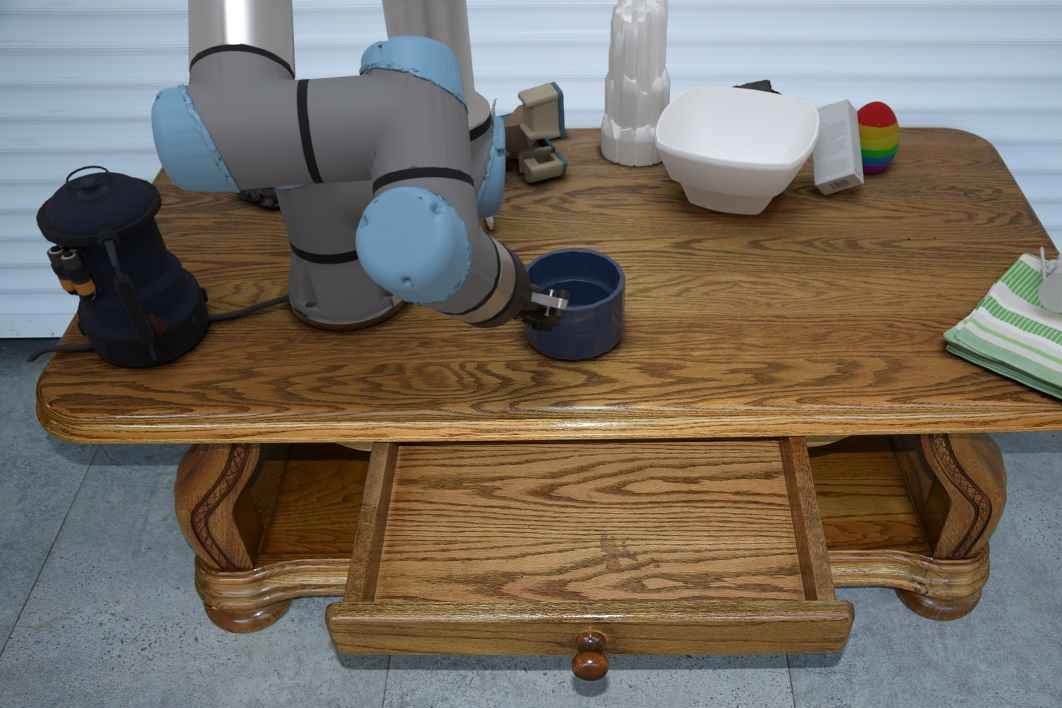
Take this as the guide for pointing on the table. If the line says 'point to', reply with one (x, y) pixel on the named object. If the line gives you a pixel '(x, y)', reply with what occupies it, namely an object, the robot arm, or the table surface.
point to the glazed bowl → (580, 303)
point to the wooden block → (516, 132)
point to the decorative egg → (877, 136)
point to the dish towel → (1014, 330)
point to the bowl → (735, 145)
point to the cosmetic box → (838, 149)
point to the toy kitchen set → (541, 132)
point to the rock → (261, 196)
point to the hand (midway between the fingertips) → (547, 318)
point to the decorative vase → (635, 82)
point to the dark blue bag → (122, 269)
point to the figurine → (1051, 284)
